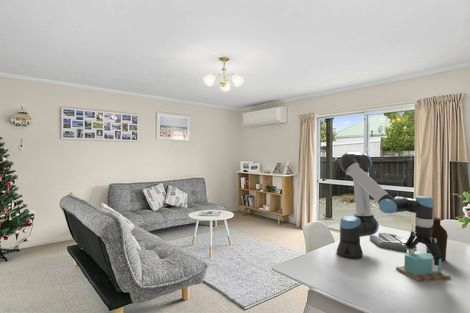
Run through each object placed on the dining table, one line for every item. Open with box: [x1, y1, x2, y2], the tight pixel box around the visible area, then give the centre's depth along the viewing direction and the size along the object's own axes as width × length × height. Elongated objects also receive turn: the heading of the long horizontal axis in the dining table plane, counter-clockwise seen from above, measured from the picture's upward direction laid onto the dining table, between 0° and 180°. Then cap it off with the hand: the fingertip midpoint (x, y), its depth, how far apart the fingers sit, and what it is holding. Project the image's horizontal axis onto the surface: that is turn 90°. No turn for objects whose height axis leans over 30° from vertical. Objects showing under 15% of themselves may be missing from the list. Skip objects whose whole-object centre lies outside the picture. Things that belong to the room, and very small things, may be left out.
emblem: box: [369, 232, 418, 253], centre depth 190 cm, size 28×5×28 cm
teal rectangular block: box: [404, 252, 442, 275], centre depth 143 cm, size 16×7×8 cm, turn 102°
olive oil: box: [425, 217, 449, 262], centre depth 165 cm, size 11×11×25 cm
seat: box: [395, 266, 452, 282], centre depth 143 cm, size 20×14×4 cm
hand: (422, 265), depth 143 cm, fingers open, 13 cm apart
